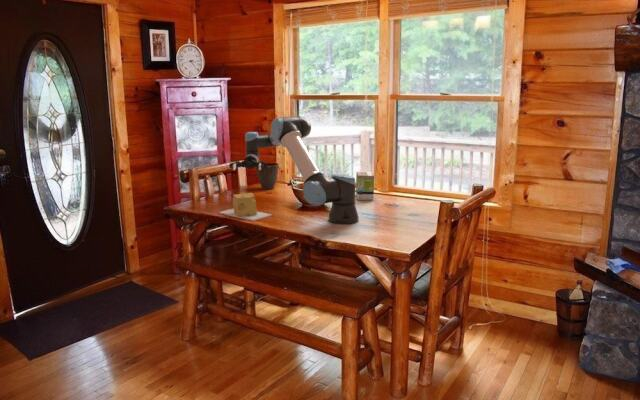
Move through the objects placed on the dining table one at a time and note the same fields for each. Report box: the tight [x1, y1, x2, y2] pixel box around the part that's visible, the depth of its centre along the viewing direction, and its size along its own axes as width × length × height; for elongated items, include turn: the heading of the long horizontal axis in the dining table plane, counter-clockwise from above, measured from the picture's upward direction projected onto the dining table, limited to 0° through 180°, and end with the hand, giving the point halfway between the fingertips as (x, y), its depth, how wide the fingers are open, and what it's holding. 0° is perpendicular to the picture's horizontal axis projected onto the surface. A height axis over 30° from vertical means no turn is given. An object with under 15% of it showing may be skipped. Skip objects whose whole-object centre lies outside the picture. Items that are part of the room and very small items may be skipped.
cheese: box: [232, 192, 258, 216], centre depth 271 cm, size 10×11×10 cm
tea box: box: [355, 171, 375, 201], centre depth 310 cm, size 15×10×15 cm
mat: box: [218, 208, 272, 222], centre depth 274 cm, size 26×13×1 cm, turn 52°
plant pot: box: [255, 162, 279, 191], centre depth 337 cm, size 15×15×16 cm
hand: (246, 167), depth 274 cm, fingers open, 13 cm apart
